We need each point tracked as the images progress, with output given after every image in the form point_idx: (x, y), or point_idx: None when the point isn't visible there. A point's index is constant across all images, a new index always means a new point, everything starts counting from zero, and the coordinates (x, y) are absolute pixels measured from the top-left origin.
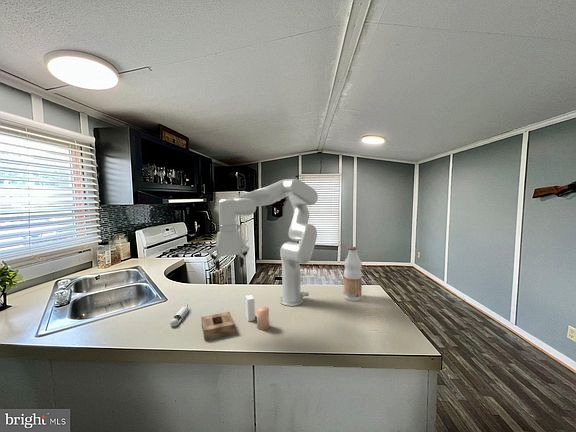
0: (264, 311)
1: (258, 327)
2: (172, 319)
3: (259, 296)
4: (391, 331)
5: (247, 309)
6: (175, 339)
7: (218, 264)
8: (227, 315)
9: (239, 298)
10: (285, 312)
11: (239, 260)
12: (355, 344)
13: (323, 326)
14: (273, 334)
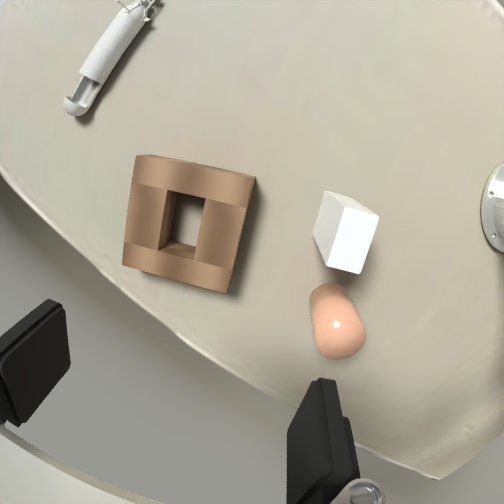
0: (332, 357)
1: (309, 307)
2: (65, 101)
3: (458, 71)
4: (476, 437)
5: (321, 237)
6: (72, 194)
7: (31, 401)
8: (230, 209)
9: (383, 22)
10: (448, 264)
11: (314, 443)
12: (409, 445)
13: (439, 383)
14: None
